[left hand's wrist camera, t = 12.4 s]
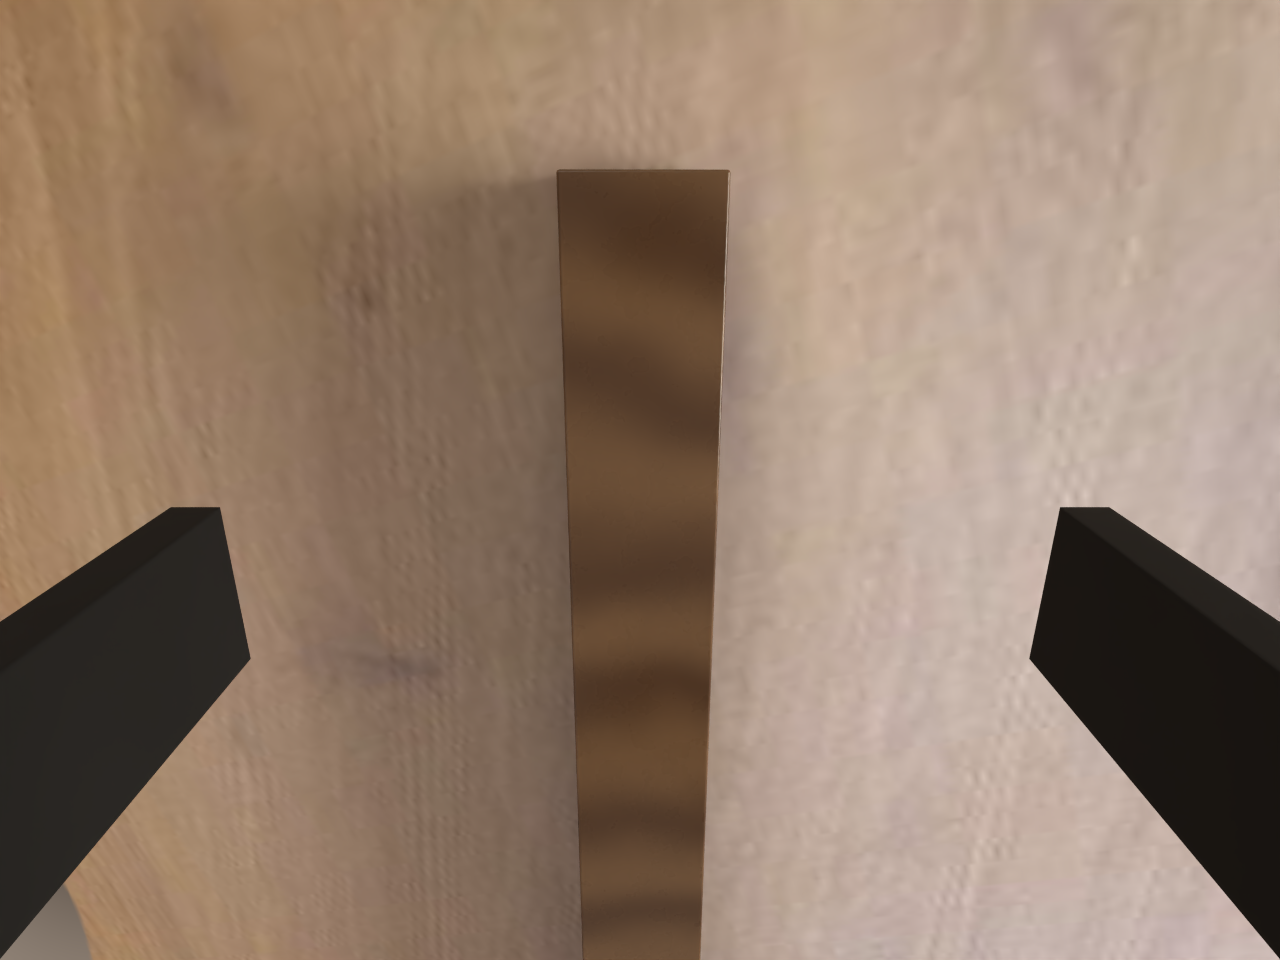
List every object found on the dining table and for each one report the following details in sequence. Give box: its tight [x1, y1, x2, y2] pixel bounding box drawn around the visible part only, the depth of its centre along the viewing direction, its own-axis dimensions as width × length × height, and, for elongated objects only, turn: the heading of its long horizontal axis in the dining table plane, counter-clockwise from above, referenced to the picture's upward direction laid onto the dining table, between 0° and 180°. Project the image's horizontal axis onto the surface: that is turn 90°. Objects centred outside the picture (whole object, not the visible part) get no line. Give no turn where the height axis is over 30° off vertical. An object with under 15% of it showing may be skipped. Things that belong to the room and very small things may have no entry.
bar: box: [557, 170, 730, 960], centre depth 39 cm, size 54×6×7 cm, turn 0°
